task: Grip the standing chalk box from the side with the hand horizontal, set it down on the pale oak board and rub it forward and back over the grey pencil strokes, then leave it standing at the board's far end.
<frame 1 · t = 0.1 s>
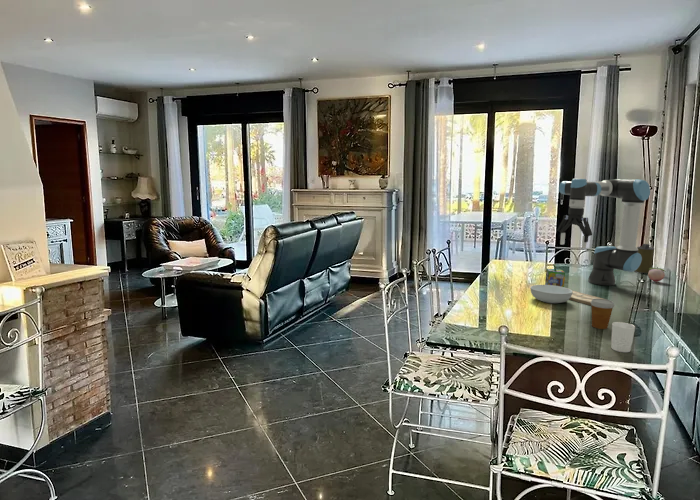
hand: (572, 246, 276), 28 cm above the table, tool pointing down, fingers open, 13 cm apart
chalk box: (553, 290, 295), on the table
decorative fruit: (655, 282, 323), on the table
serving bowl: (550, 301, 269), on the table
canister: (642, 272, 354), on the table
disposable coffee cup: (599, 327, 227), on the table
oak board: (579, 298, 276), on the table
white cup: (620, 349, 199), on the table
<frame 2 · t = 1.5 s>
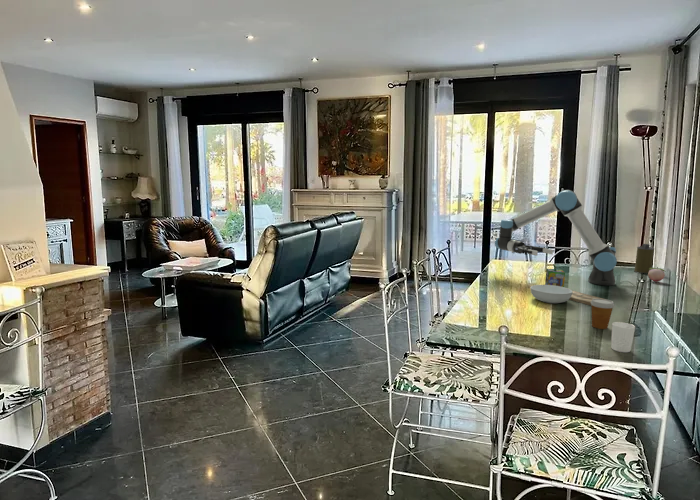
hand: (544, 252, 299), 20 cm above the table, tool horizontal, fingers open, 13 cm apart
nothing on the table moved.
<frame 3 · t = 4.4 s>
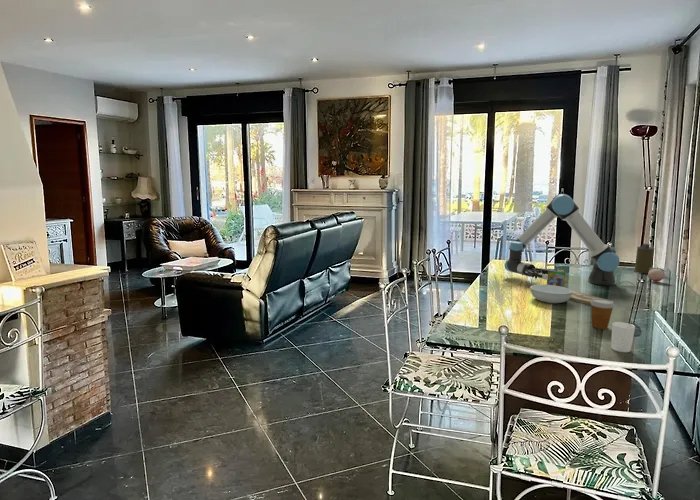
hand: (555, 276, 293), 8 cm above the table, tool horizontal, fingers open, 13 cm apart
chalk box: (554, 290, 294), on the table, touching gripper
everything else where it was.
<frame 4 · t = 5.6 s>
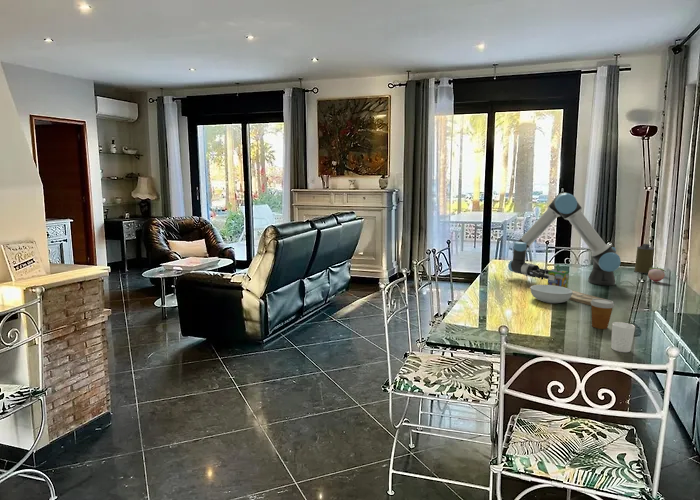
hand: (561, 277, 290), 8 cm above the table, tool horizontal, fingers closed on chalk box, 11 cm apart
chalk box: (556, 290, 293), on the table, touching gripper
everything else where it was.
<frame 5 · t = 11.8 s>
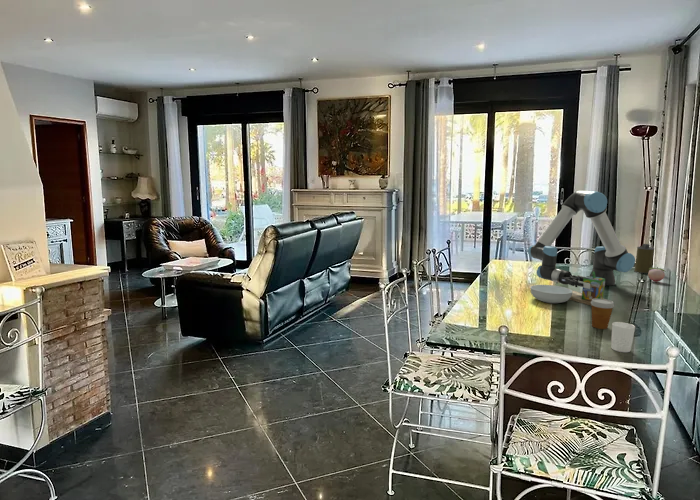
hand: (597, 285, 266), 10 cm above the table, tool horizontal, fingers closed on chalk box, 11 cm apart
chalk box: (592, 299, 269), point 1 cm above the table, touching gripper
everything else where it was.
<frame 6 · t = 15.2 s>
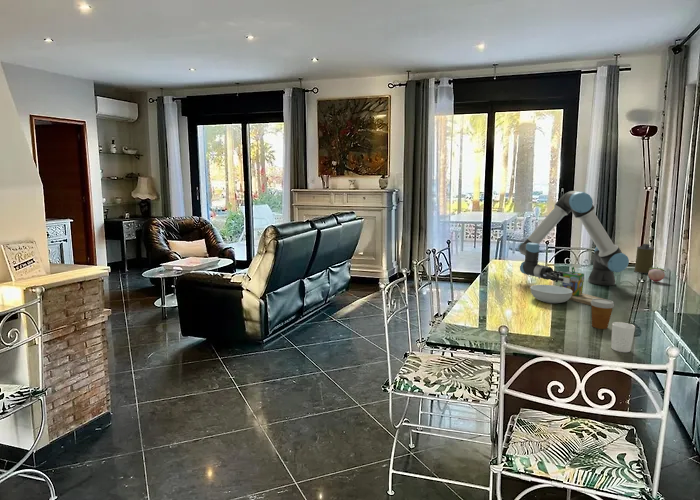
hand: (576, 280, 277), 10 cm above the table, tool horizontal, fingers closed on chalk box, 11 cm apart
chalk box: (571, 293, 280), point 1 cm above the table, touching gripper
everything else where it was.
when the fingers open (10 cm above the table, at t = 18.2 s): chalk box stays where it is, resting on oak board.
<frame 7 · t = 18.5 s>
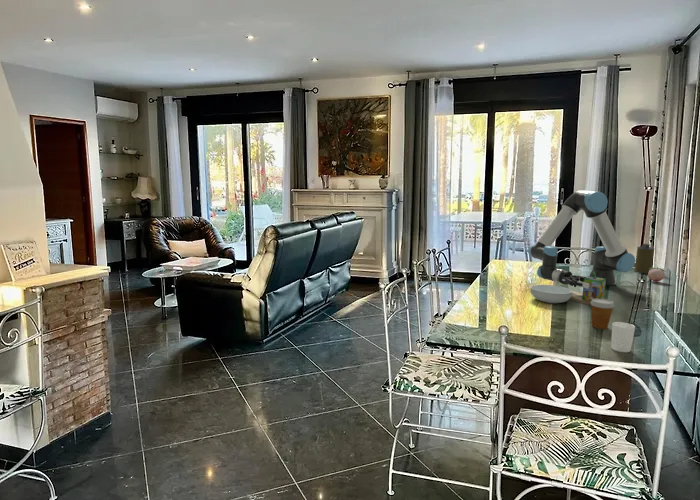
hand: (596, 285, 266), 10 cm above the table, tool horizontal, fingers open, 13 cm apart
chalk box: (592, 299, 269), point 1 cm above the table, touching oak board
everything else where it was.
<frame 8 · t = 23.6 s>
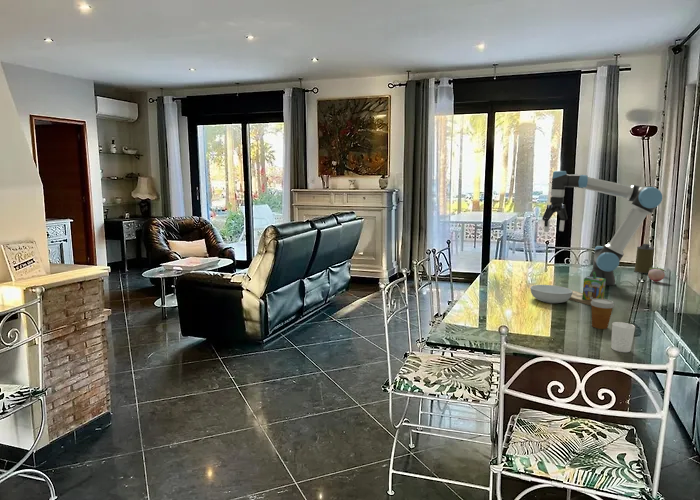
hand: (553, 231, 309), 32 cm above the table, tool pointing down, fingers open, 13 cm apart
nothing on the table moved.
at the end: chalk box inside the target area on the oak board (3.0 cm from its centre), point 1.3 cm above the oak board's base; chalk box tilted 0°; the gripper is holding nothing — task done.
